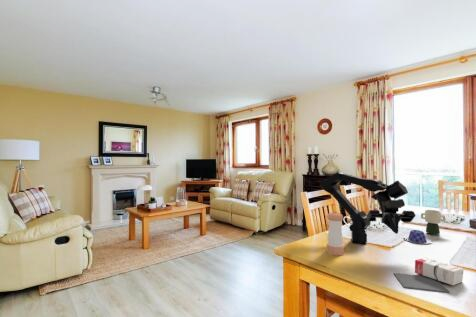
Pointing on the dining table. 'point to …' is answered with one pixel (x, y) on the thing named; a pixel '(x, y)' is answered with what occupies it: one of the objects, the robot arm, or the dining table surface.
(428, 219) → the character mug
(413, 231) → the blue low rounded piece
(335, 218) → the pepper shaker
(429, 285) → the mat
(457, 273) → the ink box
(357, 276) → the dining table surface
